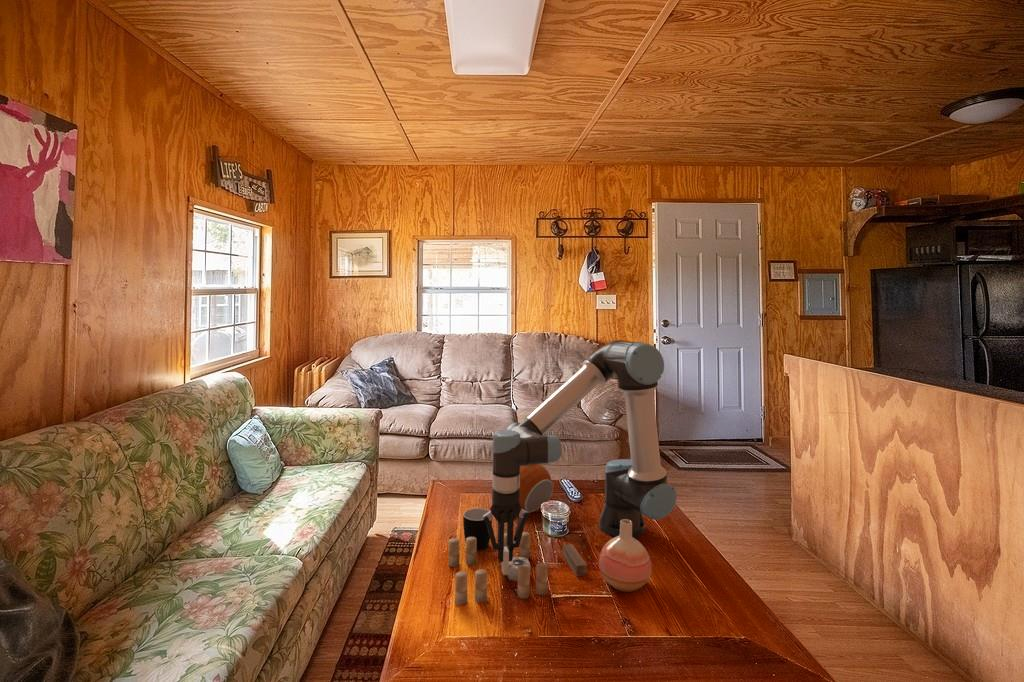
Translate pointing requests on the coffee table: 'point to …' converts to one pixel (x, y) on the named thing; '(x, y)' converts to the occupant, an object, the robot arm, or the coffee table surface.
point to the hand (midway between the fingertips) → (505, 571)
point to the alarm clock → (534, 487)
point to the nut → (516, 567)
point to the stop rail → (574, 560)
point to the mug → (476, 527)
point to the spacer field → (482, 574)
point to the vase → (625, 560)
